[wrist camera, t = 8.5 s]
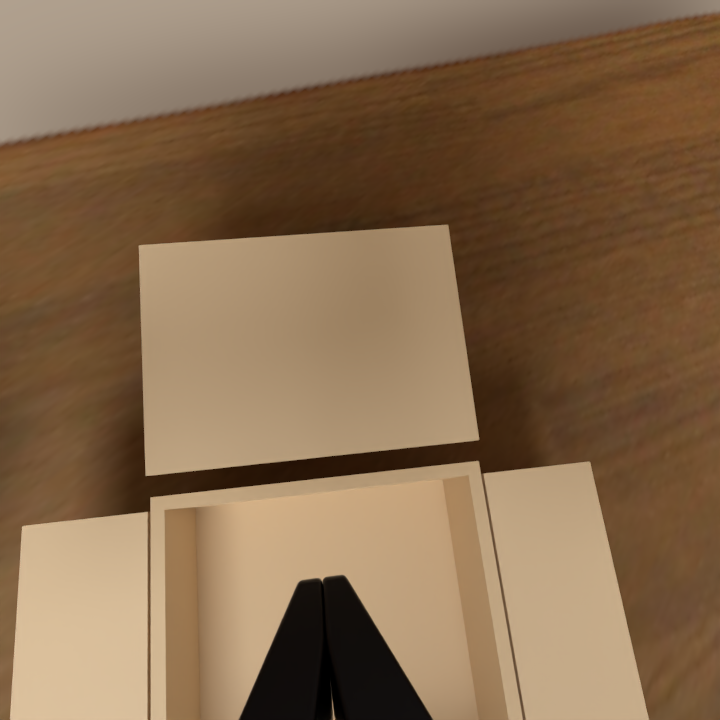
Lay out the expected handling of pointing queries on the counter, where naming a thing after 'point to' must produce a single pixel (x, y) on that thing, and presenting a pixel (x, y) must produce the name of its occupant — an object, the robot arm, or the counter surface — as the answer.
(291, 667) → the robot arm
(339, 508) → the carton
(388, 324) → the far flap
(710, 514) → the counter surface
